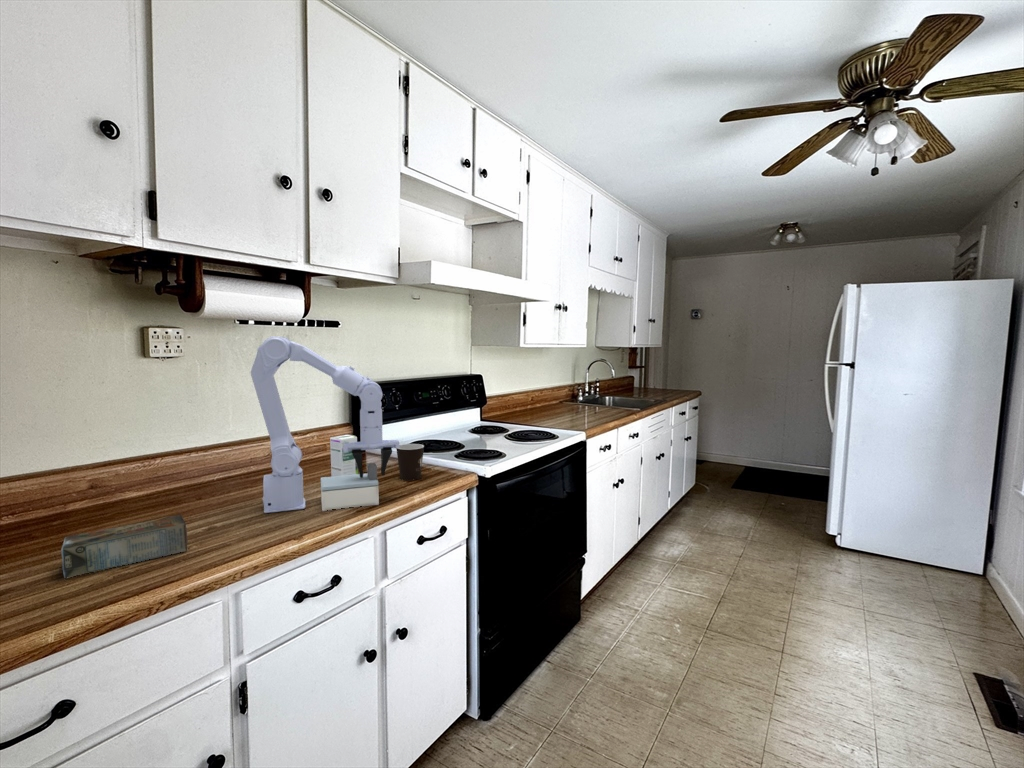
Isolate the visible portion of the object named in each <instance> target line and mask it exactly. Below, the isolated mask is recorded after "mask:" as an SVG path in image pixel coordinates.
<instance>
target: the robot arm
mask: <svg viewBox="0 0 1024 768" xmlns="http://www.w3.org/2000/svg"><path fill="white" fill-rule="evenodd" d="M288 360H289V361H290V362H303V363H305V364H307V365H308V366H310V367H312V368H314V369H316V370H318V371H319V372H322V373H324V374H326V375H327V376H329V377H331V378H332V379H331V380H332V384H333V385H335V386H336V387H338V388H340V389H342V390H344V391H345V392H347V393H348V394H351V395H352V396H354V397H357V396H358V397H359V400H360V409H359V426H360V429H359V430H360V435H359V436H360V441H357V442H354V443H346V444H343V451H344V452H348V451H351V452H352V455H353V457H354V458H355V461H356V463H357V466H358V474H360V478H363V474H364V472H363V471H364V470H363V453H362V452H363V451H370V450H380V460H381V461H380V463H381V464H380V474H381V476H385V475H386V474H385V473H386V469H387V466H388V463H389V460H390V458H391V456H392V453H393V449H396V448H399V445H400V440H398V439H391V440H389V439H386V440H385V439H384V440H383V409H382V405H383V404H382V401H381V400H382V399H383V395H384V394H383V391H382V388H381V385H379V384H378V383H377V382H376V381H374V380H371V377H370V376H366V377H365V376H364V375H362V374H361V373H359V372H357V371H356V370H355V368H356V367H354V366H352V365H350V366H347V365H341V366H337V365H336V364H335V363H332V362H331V361H330V360H328V359H326V358H324V357H323V356H321V355H320V354H318V353H317V352H315V351H314V350H312V349H310V348H309V347H307V346H305V345H303V344H301V343H298V342H297V341H292V340H290V339H289V338H288V337H285V336H278V335H277V336H276V335H275V336H274V335H273V336H270V337H269V336H268V338H266V339H265V340H264V341H263V342H262V343H261V344H260V345H259V347H257V351H256V355H255V358H254V361H253V364H252V366H251V370H250V376H251V378H252V383H253V386H254V389H255V393H256V397H257V399H258V403H259V407H260V410H261V414H262V415H263V419H264V423H265V426H266V427H265V428H266V429H267V433H268V436H269V438H270V439H269V440H270V451H271V460H270V467H271V469H272V472H271V473H269V474H265V475H263V482H262V483H263V484H262V487H263V488H262V489H263V490H262V491H263V492H262V493H263V497H262V504H263V513H264V514H268V513H269V514H270V513H278V512H286V511H297V510H303V509H305V508H306V498H304V478H303V477H304V476H303V475H304V474H303V468H301V466H300V465H299V464H300V462H301V461H302V459H303V451H302V449H301V447H299V446H298V445H297V444H296V441H295V439H294V437H293V435H292V433H291V429H290V428H289V424H288V420H287V416H286V414H285V410H284V407H283V403H282V401H281V399H282V398H281V397H280V392H279V389H278V386H277V383H276V380H275V377H274V376H275V374H276V373H277V371H278V370H279V369H280V367H281V366H282V365H283V364H284V363H286V362H287V361H288Z"/></svg>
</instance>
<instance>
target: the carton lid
mask: <svg viewBox="0 0 1024 768" xmlns="http://www.w3.org/2000/svg"><path fill="white" fill-rule="evenodd" d="M366 465H367V466H366V467H367V468H366V469H367V470H366V471H367V473H363V478H360V474H359V473H358V474H354V475H343V476H324V477H322V476H321V477H320V490H321V489H322V491H324V490H334V489H344V488H354V487H364V486H373V485H378V486H379V480H378V466H377V464H376V462H367V463H366Z"/></svg>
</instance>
